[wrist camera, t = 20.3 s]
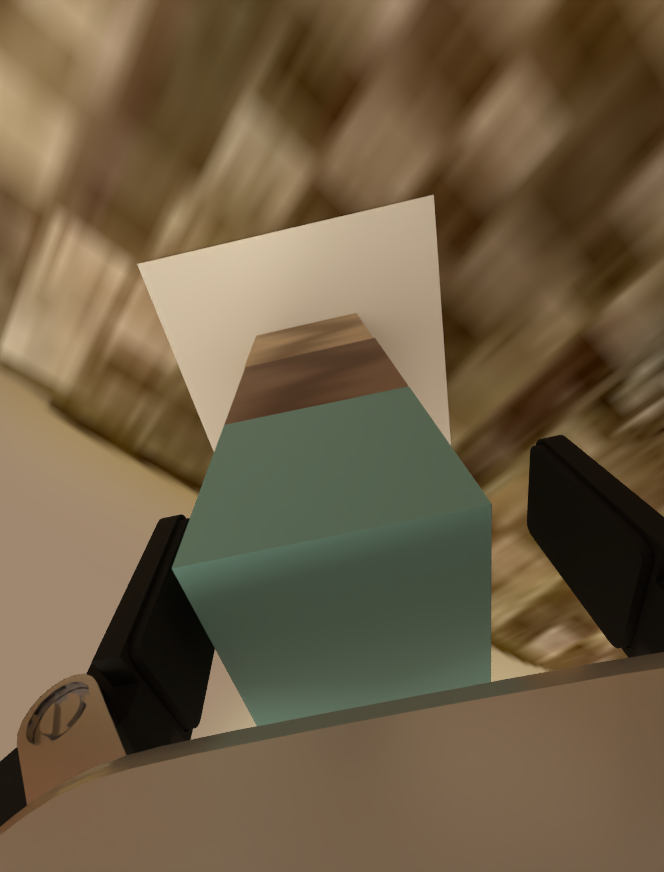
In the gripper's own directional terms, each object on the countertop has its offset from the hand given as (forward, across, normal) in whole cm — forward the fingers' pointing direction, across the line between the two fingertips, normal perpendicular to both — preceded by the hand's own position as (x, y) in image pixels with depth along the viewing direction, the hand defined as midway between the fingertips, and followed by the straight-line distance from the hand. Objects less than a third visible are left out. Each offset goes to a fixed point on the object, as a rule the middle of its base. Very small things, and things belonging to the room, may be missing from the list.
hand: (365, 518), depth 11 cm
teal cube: (+3, +1, +1) cm, 3 cm away
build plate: (+16, +1, +1) cm, 16 cm away
